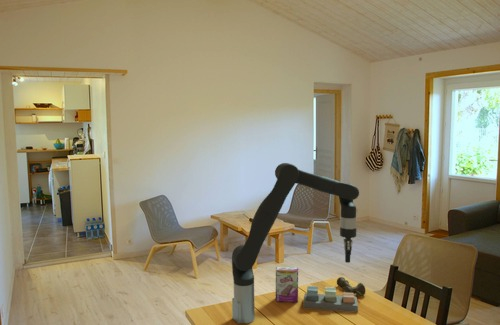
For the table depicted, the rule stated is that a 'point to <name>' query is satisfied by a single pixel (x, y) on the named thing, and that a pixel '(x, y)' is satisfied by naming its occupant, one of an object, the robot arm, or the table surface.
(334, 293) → the sage block
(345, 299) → the terracotta block
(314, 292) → the slate-blue block
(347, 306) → the charcoal board
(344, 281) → the kendama
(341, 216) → the robot arm
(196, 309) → the table surface
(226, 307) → the table surface
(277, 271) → the candy bar box
